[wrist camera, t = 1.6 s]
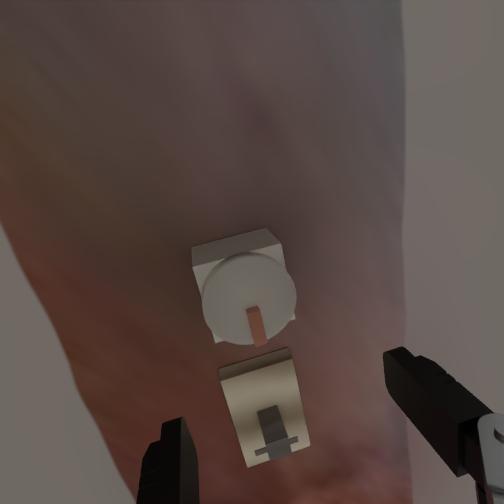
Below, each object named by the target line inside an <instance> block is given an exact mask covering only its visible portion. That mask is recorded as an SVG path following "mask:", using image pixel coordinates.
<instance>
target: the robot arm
mask: <svg viewBox="0 0 504 504" xmlns="http://www.w3.org/2000/svg"><path fill="white" fill-rule="evenodd" d="M383 362H384V374H385V383H386V387H387V390H388V392H389V394H390V395H391V397H392V398H393V400H394V401H395V402H396V403H397V405H398V406H399V407H400V408H401V410H402V411H403V412H404V413H405V414H406V416H407V417H408V418H409V419H410V420H411V422H412V423H413V424H414V425H415V426H416V428H417V429H418V430H419V431H420V433H421V434H422V435H423V436H424V438H425V439H426V440H427V441H428V442H429V444H430V445H431V446H432V447H433V448H434V450H435V451H436V452H437V453H438V455H439V456H440V457H441V458H442V459H443V461H444V462H445V463H446V464H447V465H448V467H449V468H450V469H451V470H452V471H453V473H454V474H455V475H456V477H460V476H462V475H465V474H468V473H469V474H470V475H471V476H472V477H473V479H474V480H475V485H476V486H475V487H476V495H477V502H478V504H504V415H503V414H496V413H494V412H492V411H491V410H490V409H489V408H488V407H486V405H484V404H483V403H482V402H481V401H480V400H479V399H477V398H476V397H475V396H474V395H473V394H472V393H470V392H469V391H468V390H467V389H466V388H465V387H463V386H462V385H461V384H460V383H459V382H456V380H455V379H454V378H453V377H452V376H451V375H450V374H447V373H446V371H445V370H444V369H443V368H441V367H440V366H439V365H438V364H437V363H436V362H434V361H432V360H430V359H428V358H425V357H423V356H421V355H420V356H417V357H414V356H413V355H412V354H411V353H410V352H409V351H408V350H407V349H406V348H404V347H398V348H395V349H392V350H389V351H386V352H384V353H383ZM136 504H200V501H199V475H198V459H197V453H196V449H195V445H194V442H193V440H192V437H191V435H190V432H189V429H188V427H187V424H186V421H185V419H184V417H179V418H176V419H173V420H170V421H167V422H164V423H163V424H162V428H161V439H160V440H159V441H156V442H153V443H150V445H149V447H148V449H147V451H146V453H145V455H144V457H143V460H142V467H141V477H140V481H139V490H138V496H137V503H136Z"/></svg>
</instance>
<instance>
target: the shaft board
mask: <svg viewBox="0 0 504 504" xmlns="http://www.w3.org/2000/svg"><path fill="white" fill-rule="evenodd" d="M219 375H220V382H221V385H222V388H223V391H224V394H225V397H226V401H227V404H228V407H229V410H230V413H231V417H232V420H233V423H234V426H235V429H236V432H237V436H238V439H239V442H240V445H241V448H242V452H243V455H244V458H245V461H246V464H247V468H248V467H251V466H254V465H256V464H259V463H262V462H265V461H268V460H270V461H272V460H275V459H278V458H281V457H283V456H286V455H289V454H292V452H294V451H297V450H299V449H302V448H305V447H308V446H310V441H309V436H308V431H307V426H306V422H305V417H304V412H303V407H302V402H301V397H300V392H299V387H298V383H297V378H296V373H295V368H294V363H293V358H292V356H291V354H290V352H289V350H288V348H284V349H281V350H278V351H275V352H272V353H268V354H265V355H262V356H259V357H255V358H252V359H249V360H246V361H243V362H239V363H236V364H233V365H230V366H226V367H223V368H220V369H219Z"/></svg>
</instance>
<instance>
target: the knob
mask: <svg viewBox="0 0 504 504" xmlns="http://www.w3.org/2000/svg"><path fill="white" fill-rule="evenodd" d="M191 253H192V268H193V271H194V274H195V278H196V281H197V284H198V287H199V291H200V294H201V299H202V310H203V315H204V318H205V321H206V323H207V325H208V327H209V328H210V329H211V330H212V333H213V337H214V340H215V343H218V342H221V341H227V342H230V343H234V344H240V345H250V344H255V347H258V346H262V345H265V344H268V342H267V340H268V339H270V338H272V337H273V336H275V335H276V334H278V333H279V332H280V331H281V330H282V329H283V328H284V327H285V326H286V325H287V323H288V322H289V321H291V320H294V319H295V314H294V310H295V307H296V299H297V295H296V288H295V285H294V282H293V280H292V278H291V277H290V275H289V274H288V273H287V271H286V266H285V261H284V256H283V251H282V245H281V243H280V241H279V240H278V239H277V238H276V237H275V236H274V235H273V234H272V233H271V232H270V231H269V230H268V229H267V228H266V227H265V228H262V229H258V230H254V231H250V232H247V233H243V234H239V235H235V236H231V237H228V238H224V239H220V240H216V241H213V242H209V243H205V244H201V245H197V246H194V247H191Z"/></svg>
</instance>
